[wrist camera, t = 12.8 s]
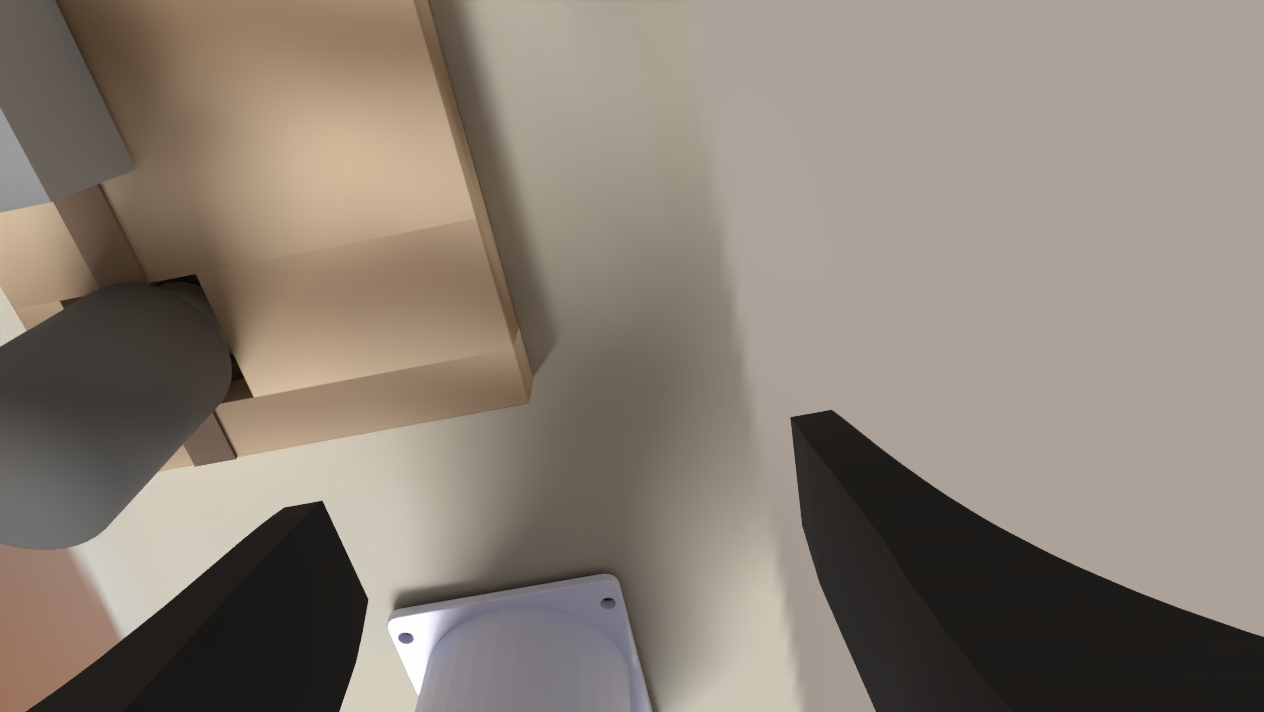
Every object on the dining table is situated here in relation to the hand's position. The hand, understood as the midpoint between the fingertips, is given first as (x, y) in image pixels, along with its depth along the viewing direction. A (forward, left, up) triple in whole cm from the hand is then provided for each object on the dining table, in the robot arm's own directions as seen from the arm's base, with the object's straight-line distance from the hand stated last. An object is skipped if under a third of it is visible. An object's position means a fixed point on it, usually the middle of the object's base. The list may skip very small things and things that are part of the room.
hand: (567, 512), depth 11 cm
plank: (+5, +8, -10) cm, 14 cm away
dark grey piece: (+1, +11, -10) cm, 15 cm away
